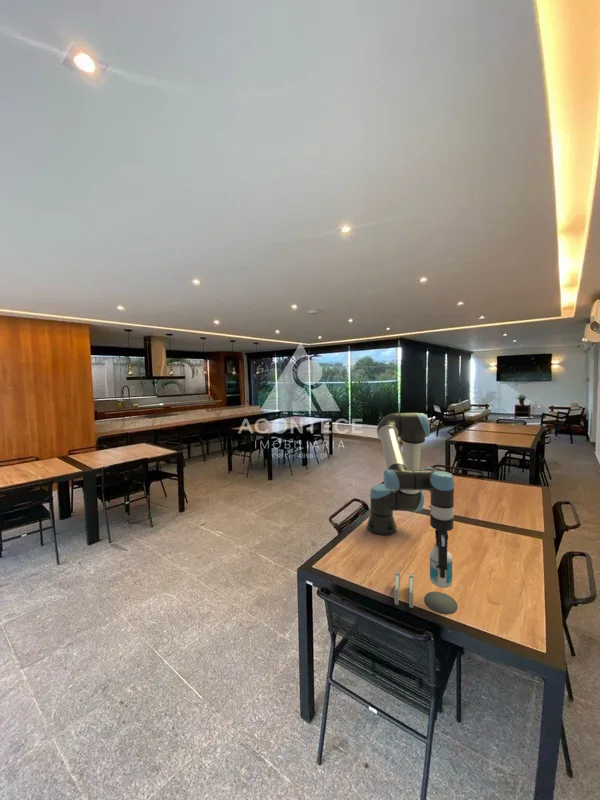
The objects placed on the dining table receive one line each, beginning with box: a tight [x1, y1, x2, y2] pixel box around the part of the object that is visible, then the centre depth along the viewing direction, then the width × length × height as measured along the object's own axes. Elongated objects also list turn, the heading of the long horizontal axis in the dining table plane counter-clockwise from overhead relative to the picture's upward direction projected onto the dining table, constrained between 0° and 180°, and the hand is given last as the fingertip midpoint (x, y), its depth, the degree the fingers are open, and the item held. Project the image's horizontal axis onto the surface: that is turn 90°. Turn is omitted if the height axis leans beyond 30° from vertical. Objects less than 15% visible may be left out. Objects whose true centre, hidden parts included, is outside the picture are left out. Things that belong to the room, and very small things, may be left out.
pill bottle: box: [429, 542, 453, 589], centre depth 117 cm, size 8×7×14 cm
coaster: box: [423, 591, 458, 615], centre depth 118 cm, size 11×11×1 cm
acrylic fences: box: [394, 570, 414, 609], centre depth 122 cm, size 11×6×6 cm, turn 161°
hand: (440, 578), depth 117 cm, fingers closed on pill bottle, 7 cm apart
